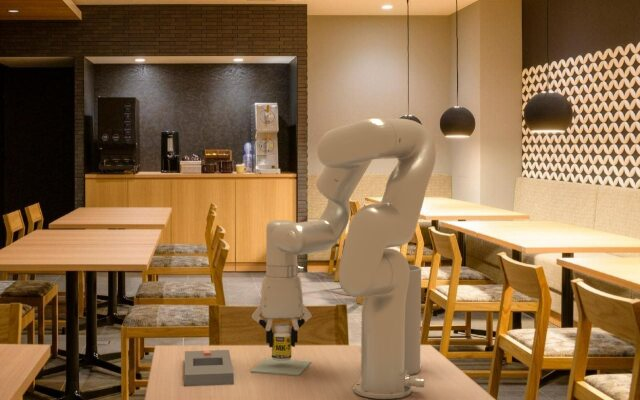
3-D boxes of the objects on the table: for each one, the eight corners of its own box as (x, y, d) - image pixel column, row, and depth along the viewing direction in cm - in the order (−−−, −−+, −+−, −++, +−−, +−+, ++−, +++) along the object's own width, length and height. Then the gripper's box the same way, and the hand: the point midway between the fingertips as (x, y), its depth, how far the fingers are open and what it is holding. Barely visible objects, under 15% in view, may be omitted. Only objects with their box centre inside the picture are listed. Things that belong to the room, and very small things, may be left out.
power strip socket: (184, 361, 212) (184, 348, 212) (228, 359, 214) (228, 347, 214) (184, 385, 191) (184, 372, 190) (233, 383, 192) (233, 370, 192)
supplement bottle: (274, 361, 203) (274, 327, 203) (270, 357, 208) (270, 323, 207) (293, 360, 205) (293, 326, 204) (289, 355, 209) (289, 322, 209)
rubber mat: (311, 362, 211) (311, 361, 211) (299, 375, 199) (299, 374, 199) (265, 360, 214) (265, 358, 214) (250, 372, 202) (250, 370, 202)
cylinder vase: (368, 377, 198) (369, 271, 197) (367, 363, 211) (368, 263, 209) (422, 377, 198) (423, 271, 196) (417, 364, 210) (418, 264, 209)
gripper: (315, 268, 210) (314, 341, 211) (246, 269, 208) (246, 343, 209) (318, 273, 202) (318, 348, 203) (247, 274, 200) (247, 350, 201)
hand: (281, 345), depth 206 cm, fingers closed on supplement bottle, 4 cm apart
